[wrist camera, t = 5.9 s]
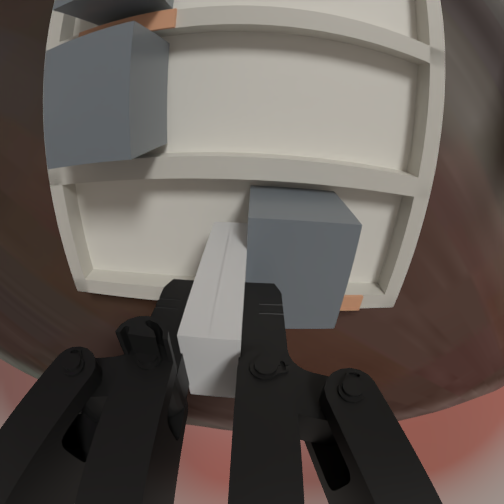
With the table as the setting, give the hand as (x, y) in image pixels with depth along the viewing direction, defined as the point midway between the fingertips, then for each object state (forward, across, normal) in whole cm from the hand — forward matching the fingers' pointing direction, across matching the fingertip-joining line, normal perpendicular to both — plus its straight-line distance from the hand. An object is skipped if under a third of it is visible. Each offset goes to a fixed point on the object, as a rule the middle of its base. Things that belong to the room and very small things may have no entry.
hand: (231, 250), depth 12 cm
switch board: (+4, 0, +7) cm, 8 cm away
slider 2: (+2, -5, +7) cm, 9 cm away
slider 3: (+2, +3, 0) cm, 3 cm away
